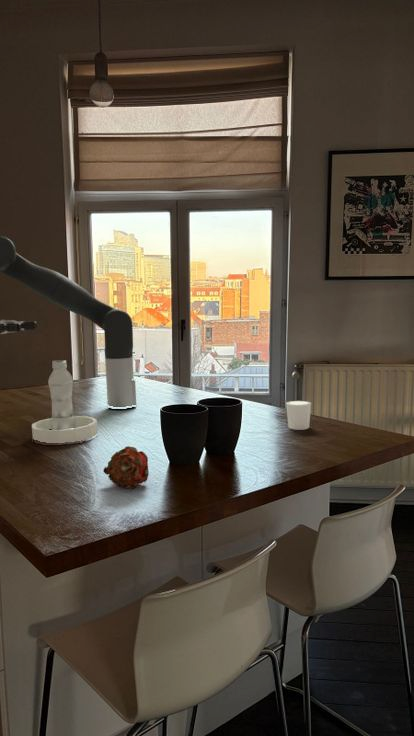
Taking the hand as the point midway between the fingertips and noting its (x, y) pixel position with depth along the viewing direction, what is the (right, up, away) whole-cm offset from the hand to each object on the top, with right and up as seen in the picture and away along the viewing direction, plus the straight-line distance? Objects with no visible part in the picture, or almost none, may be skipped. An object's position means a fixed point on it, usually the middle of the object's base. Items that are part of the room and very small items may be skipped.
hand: (28, 326), depth 157 cm
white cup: (+76, -28, -2) cm, 81 cm away
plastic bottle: (+11, -30, -5) cm, 32 cm away
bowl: (+12, -31, -5) cm, 33 cm away
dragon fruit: (+34, -36, -45) cm, 67 cm away
